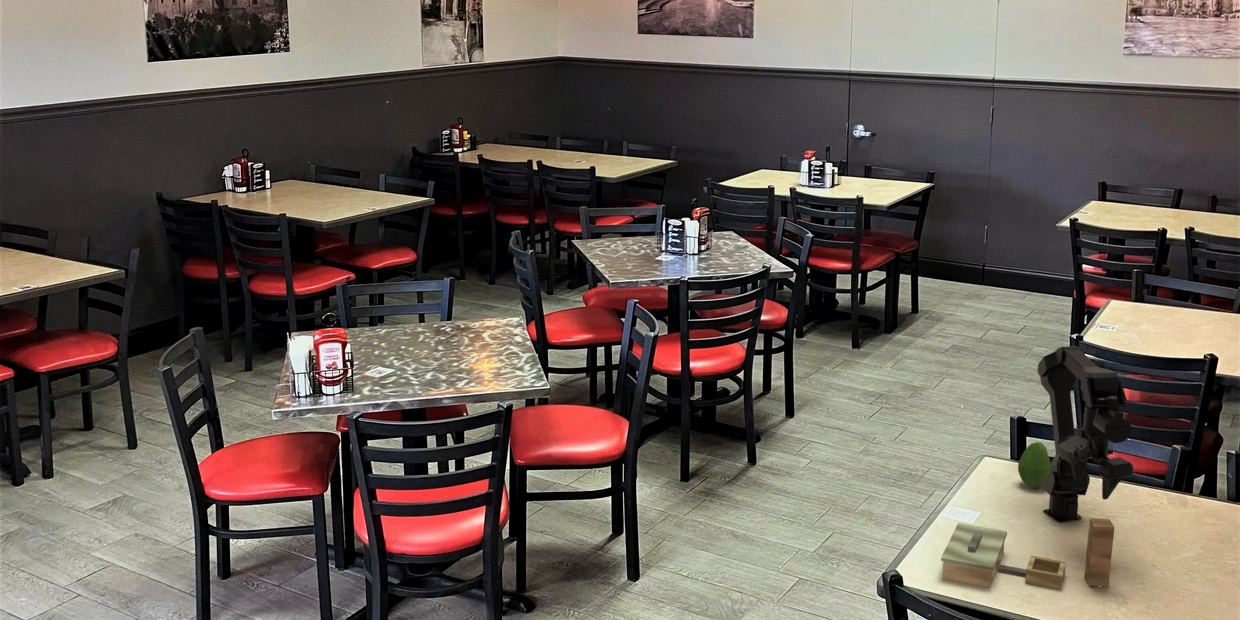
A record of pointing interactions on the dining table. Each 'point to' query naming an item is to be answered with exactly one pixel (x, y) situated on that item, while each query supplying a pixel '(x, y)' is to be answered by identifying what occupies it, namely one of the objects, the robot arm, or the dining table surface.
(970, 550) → the wooden box with frame
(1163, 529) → the dining table surface
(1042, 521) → the dining table surface
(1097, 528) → the brown wooden block
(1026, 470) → the avocado
